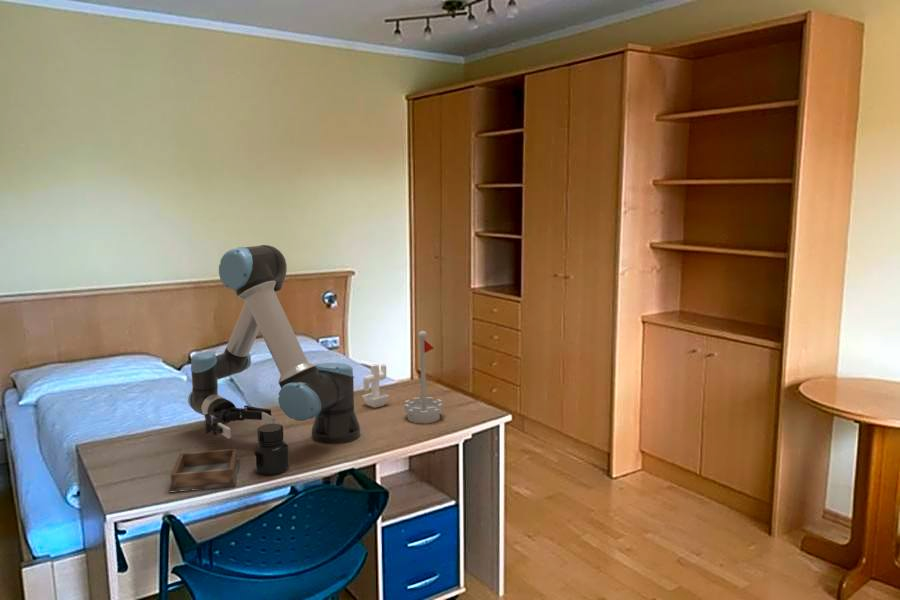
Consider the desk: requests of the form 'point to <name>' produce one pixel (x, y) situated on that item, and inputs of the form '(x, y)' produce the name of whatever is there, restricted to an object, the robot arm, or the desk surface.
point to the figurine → (375, 387)
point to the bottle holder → (205, 470)
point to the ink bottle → (271, 450)
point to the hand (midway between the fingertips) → (252, 427)
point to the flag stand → (423, 394)
